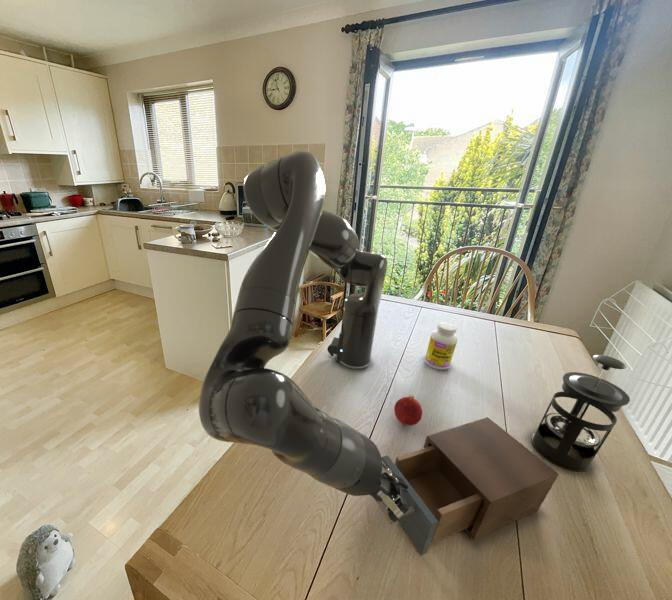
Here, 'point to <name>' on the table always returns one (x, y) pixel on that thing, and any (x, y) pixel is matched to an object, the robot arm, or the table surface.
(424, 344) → the table surface
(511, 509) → the cabinet
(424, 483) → the drawer
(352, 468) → the robot arm
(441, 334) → the supplement bottle
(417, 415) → the red round piece
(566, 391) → the french press
